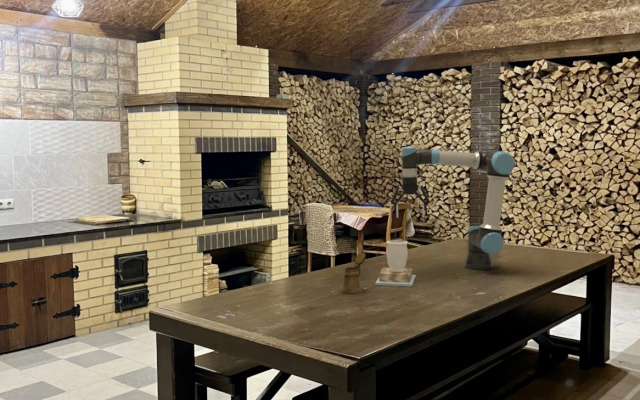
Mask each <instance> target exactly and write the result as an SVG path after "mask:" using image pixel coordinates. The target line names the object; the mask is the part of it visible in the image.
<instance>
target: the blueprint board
mask: <svg viewBox="0 0 640 400" xmlns="http://www.w3.org/2000/svg"><path fill="white" fill-rule="evenodd" d="M416 277H417V275H416V274H412V278H411V280H410V283H406V282H382V281H379V277H378V278H377V280H376V281H375V284H374V285H375V286H384V287H385V286H386V287H387V286H389V287H408V288H412V287H413V285H414V284H415V283H414V282H415V280H416Z"/></svg>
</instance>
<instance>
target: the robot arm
mask: <svg viewBox="0 0 640 400" xmlns="http://www.w3.org/2000/svg"><path fill="white" fill-rule="evenodd" d="M401 164H402V165H401V166H402V170H401V171H402V172H401V173H402V186H400V185H397V186H396V190H395V193H394V194H393V196H392V199H391V201H390V205H393V208H394V209H393V211H394V212H395V214H396V218H397V219H398V218H399V204H398V203H399V202H400V201H401V199H402V198H403V197H404V196H405V195H412V196H413V195H415V196H416V197H418V199H419V200H420V201H421V202H422V218H425V211H427V207H428V206H427V205H428V204H430V203H431V201H430V199H429V197H428V195H427V193H426V191H425V190H424V189H425V188H424V185H419V186H418V165H419V166H420V165H441V166H442V165H443V166H454V167H455V166H456V167H467V168H473V169H474V170H480V171H486V176H487V178H488V183H487V191H486V200H485V205H484V206H485V207H484V215H483V221H482V224H481V225H473V226H469V227H468V230H467V254H466V257H465V261H464V267H465V268H467V269H470V270H491V269H492V268H493V261H492V257H491V255H493V254H496V253H498V252H500V251H501V250H502V248H503V246H504V244H505V243H504V240H505V239H504V237H503V235H502V232H503V229H502V227H501V225H500V224H501V218H502V217H501V216H502V210H503V202H504V196H505V195H504V194H505V188H506V182H507V180H509V179H510V173H511V172H512V171H513V170H514V167H515V160H514V158H513V156H512V154H510V153H509V152H507V151H503V150H498V151H497V150H489V151H475V152H465V151H464V152H460V151H452V150H451V151H449V150H438V149H421V148H417V146H403V147H402V149H401ZM401 189H402V191H403V192H402V193H401V194H400V196H399V197H398V198H397V199H396V197H397V195H398V193H399V191H401ZM418 189H419V191H421V193H422V195H423V196H424V197H422V196H421V195H420V193H419V192H418V191H417V190H418ZM424 198H425V199H424ZM490 268H491V269H490Z"/></svg>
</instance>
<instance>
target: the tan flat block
mask: <svg viewBox="0 0 640 400" xmlns="http://www.w3.org/2000/svg"><path fill="white" fill-rule="evenodd" d="M404 268H405V271H404V272H390V271H389V267H382V269H381V270H380V271H379V276H378V278H379V281H382V282H406V283H410V280H411V278H412V275H413V268H407V267H404Z"/></svg>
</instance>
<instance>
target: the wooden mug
mask: <svg viewBox="0 0 640 400" xmlns="http://www.w3.org/2000/svg"><path fill="white" fill-rule="evenodd" d="M366 258H367V255H366V253H365V251H361V252H359V253H358V254H357V255H356V256H355V258H354V263H355V264H354V265H353V267H352V266H348V267H345V268H344V271H343V283H342V289H341V292H342V293H344V294H359V293H361V292H362V289H361V285H360V277H361V271H362V270H361V266H362V264H363V263H364V262H365V261H366Z"/></svg>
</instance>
